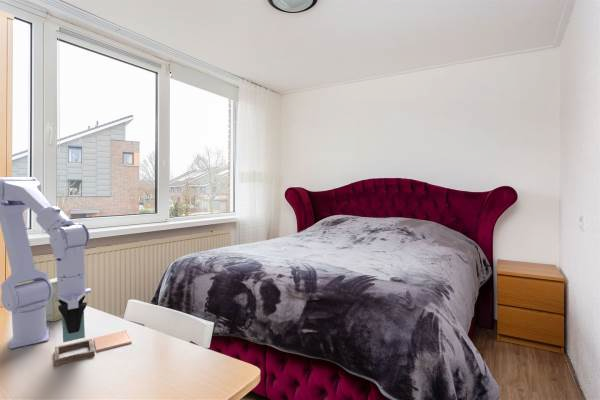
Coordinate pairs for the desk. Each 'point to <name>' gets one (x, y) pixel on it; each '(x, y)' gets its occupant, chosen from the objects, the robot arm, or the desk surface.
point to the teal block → (75, 335)
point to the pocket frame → (77, 356)
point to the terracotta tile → (111, 340)
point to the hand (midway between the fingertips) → (73, 328)
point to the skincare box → (53, 304)
